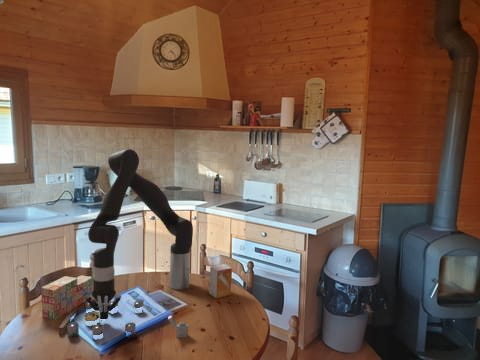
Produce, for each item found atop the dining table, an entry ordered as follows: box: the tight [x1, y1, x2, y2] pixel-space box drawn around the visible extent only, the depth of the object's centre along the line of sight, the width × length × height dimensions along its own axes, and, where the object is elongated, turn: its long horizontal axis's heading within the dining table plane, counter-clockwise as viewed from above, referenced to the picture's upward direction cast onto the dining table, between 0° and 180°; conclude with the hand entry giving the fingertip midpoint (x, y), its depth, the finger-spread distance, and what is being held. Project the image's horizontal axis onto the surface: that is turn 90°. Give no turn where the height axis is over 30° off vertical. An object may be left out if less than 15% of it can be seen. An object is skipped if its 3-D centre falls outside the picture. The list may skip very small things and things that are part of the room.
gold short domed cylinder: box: [84, 311, 100, 321], centre depth 141 cm, size 5×5×4 cm
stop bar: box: [58, 307, 78, 335], centre depth 140 cm, size 2×15×2 cm, turn 6°
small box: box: [208, 263, 233, 299], centre depth 170 cm, size 8×6×13 cm
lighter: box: [167, 314, 189, 339], centre depth 134 cm, size 7×2×8 cm, turn 100°
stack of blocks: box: [41, 275, 93, 321], centre depth 153 cm, size 21×6×12 cm, turn 161°
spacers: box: [66, 300, 144, 339], centre depth 141 cm, size 24×22×4 cm
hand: (104, 320), depth 141 cm, fingers closed
